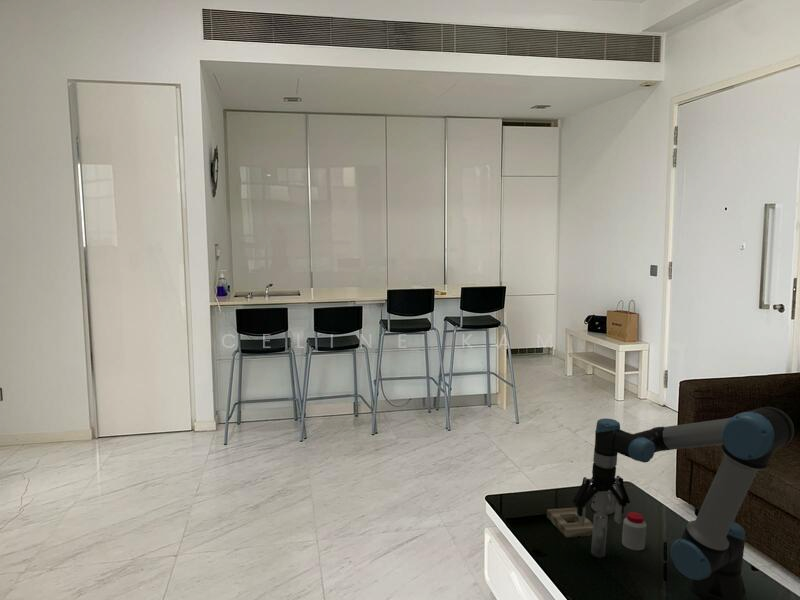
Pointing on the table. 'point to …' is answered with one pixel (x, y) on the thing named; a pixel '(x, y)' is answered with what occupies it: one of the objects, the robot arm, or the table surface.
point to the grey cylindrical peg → (599, 534)
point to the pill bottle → (634, 531)
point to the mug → (604, 502)
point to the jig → (569, 529)
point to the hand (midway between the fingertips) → (599, 523)
